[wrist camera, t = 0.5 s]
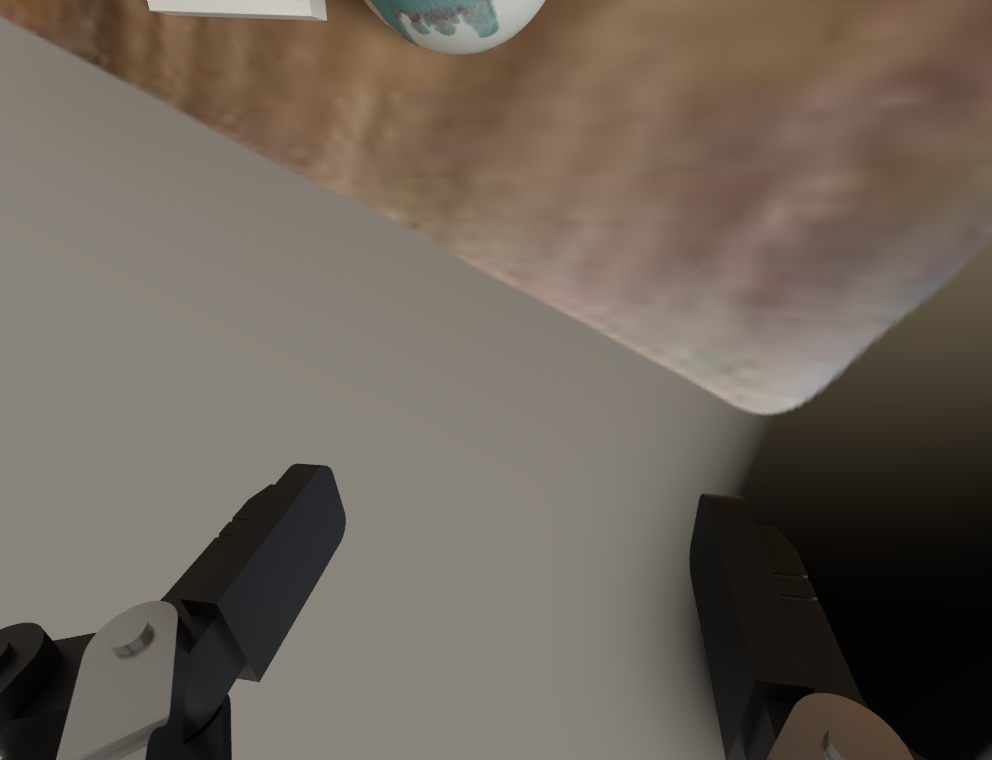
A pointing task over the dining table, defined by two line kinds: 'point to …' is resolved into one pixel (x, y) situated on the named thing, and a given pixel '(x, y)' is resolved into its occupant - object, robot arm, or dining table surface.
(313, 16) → the white slotted plate
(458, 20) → the vase
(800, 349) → the dining table surface
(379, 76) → the dining table surface
